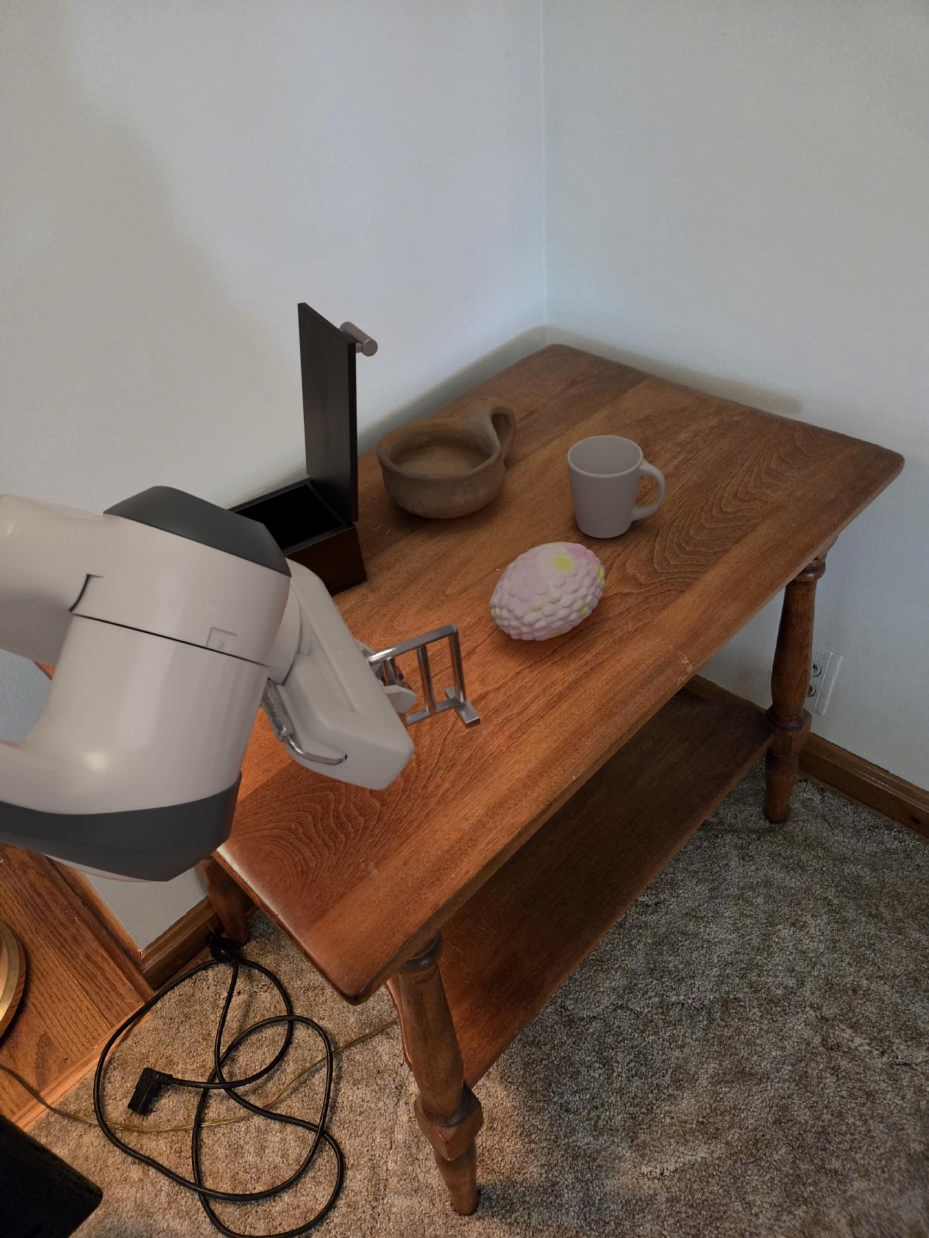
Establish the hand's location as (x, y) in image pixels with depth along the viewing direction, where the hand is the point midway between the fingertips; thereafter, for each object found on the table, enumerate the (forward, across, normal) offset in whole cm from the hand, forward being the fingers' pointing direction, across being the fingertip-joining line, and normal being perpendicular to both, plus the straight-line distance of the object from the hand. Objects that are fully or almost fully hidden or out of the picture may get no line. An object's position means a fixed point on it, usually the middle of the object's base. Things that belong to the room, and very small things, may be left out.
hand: (402, 688), depth 66 cm
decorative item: (+21, +12, -5) cm, 25 cm away
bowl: (+22, +36, -6) cm, 43 cm away
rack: (+3, 0, +4) cm, 5 cm away
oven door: (+1, +32, -7) cm, 33 cm away
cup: (+30, +21, -14) cm, 40 cm away
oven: (+6, +31, +11) cm, 33 cm away
